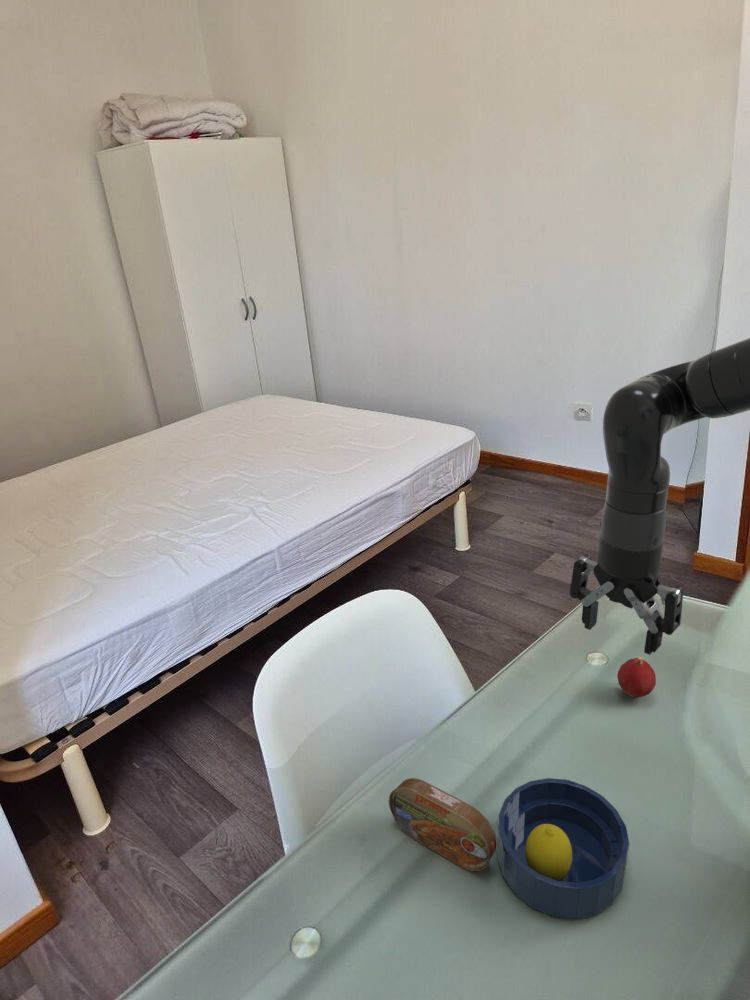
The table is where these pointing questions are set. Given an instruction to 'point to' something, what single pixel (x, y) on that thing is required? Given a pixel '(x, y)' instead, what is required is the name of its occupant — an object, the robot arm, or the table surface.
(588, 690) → the table surface
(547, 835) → the lemon
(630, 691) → the onion
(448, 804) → the tin
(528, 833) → the bowl
